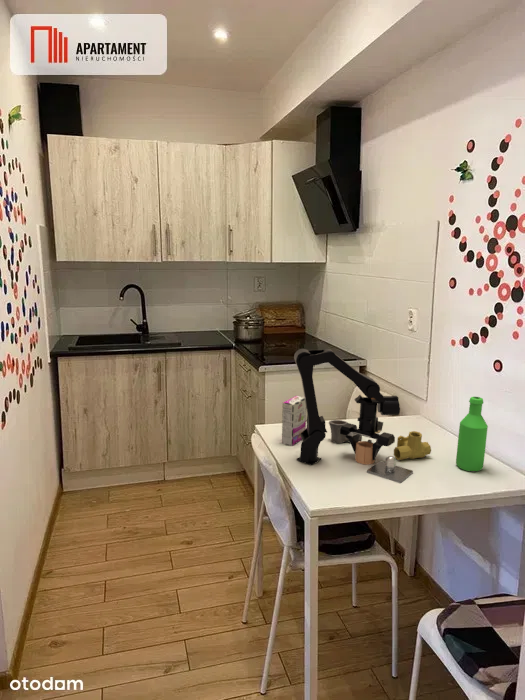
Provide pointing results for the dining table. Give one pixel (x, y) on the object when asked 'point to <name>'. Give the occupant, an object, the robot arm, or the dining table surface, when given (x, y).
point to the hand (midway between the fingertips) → (365, 457)
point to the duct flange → (390, 470)
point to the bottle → (472, 438)
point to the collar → (364, 452)
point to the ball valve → (411, 447)
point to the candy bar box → (293, 420)
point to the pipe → (335, 431)
